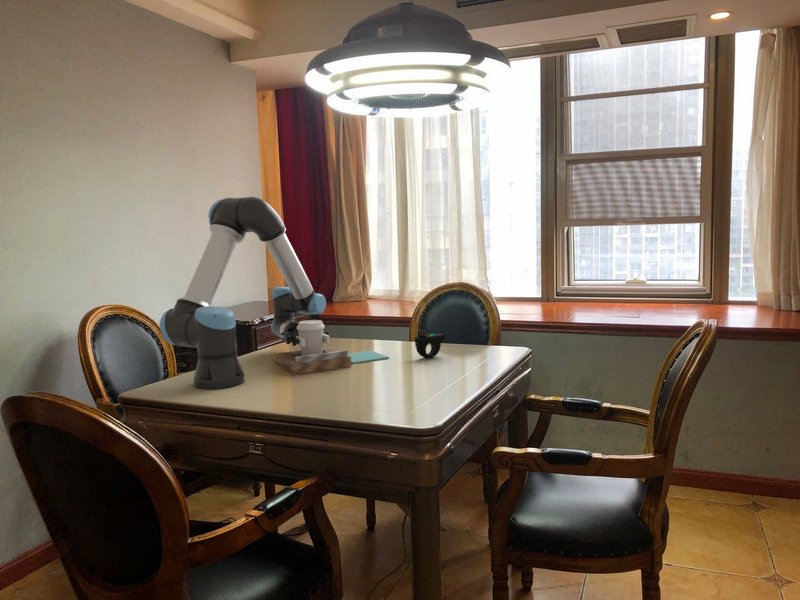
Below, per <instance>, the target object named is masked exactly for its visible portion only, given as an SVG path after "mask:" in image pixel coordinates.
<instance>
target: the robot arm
mask: <svg viewBox="0 0 800 600" xmlns="http://www.w3.org/2000/svg"><path fill="white" fill-rule="evenodd" d="M207 215H208V219H209V220H208V224H209V225H210V226H209V231H210V233H211V235H210V237H209V239H208V242H207V244H206V246H205V249H204V250H203V253H202V255H201V257H200V259H199V262H198V265H197V267H196V269H195V270H194V271H195V272H194V274H193V276H192V278H191V280H190V282H189V285H188V288H187V290H186V291H185V294H184V296H183V297H180V298H178V299H177V300H176V302H175V305H174V306H173V308H169V309H168V310H166V311H165V312H164V313H163V314H162V316H161V317H160V320H159V330H160V333H161V336H162V338H163V339H164V340H165V341H166V342H167V343H168V344H171V345H173V346H177V347H187V348H195V349H197V359H198V360H197V363H196V368H195V372H194V375H193V387H195V388H197V389H202V390H217V389H225V388H231V387H235V386H239V385H241V384H243V383H244V382H245V372H244V370H243V367H242V365H241V363H240V360H239V358H238V345H237V344H238V343H237V342H238V341H237V324H236V323H237V322H236V319H235V313H234V311H233V310H231V309H230V308H228V307H224V306H215V305H214V306H213V305H212V302H213V300H214V298H215V295H216V293H217V291H218V288H219V286H220V283H221V281H222V279H223V277H224V274H225V273H226V269H227V266H228V264H229V262H230V260H231V258H232V255H233V253H234V250H235V248H236V246H237V245H238V244H240V243H241V244H242V242H243V241H244V238H245V236H246V234H247V233H254V234H255V235H256V236H257V237H258V238H259V241H260V242H261V243H264V244H265V245H266V247H267V249H268V251H269V253H270V255H271V257H272V259H273V261H274V262H275V264H276V265H277V268H278V270H279V272H280V274H281V276H282V277H283V279H284V281H285V282H286V285H287V286H277V287H274V288H273V289H272V305H273V306H272V307H273V308H272V309H273V320H272V322H271V326H270V327H271V331H272V333H273V334H274V335H275V336H276V337H278V338H280V340H281V341H284V343H285V344H287V345H290V344H291V343H292V347H295V346H297V345H298V346H302V347H305V339H304V338H302V337H299V333H298V330H297V326H298V324H299V322H298V321H295V314H304V315H305V314H306V315H321V314H322V313H323V312H324V311H325V309H326V306H327V300H326V297H325V296H324V295H323V294H321V293H319V292H317V293H316V292H315V289H314V288H313V286H312V284H311V281H310V279H309V278H308V276H307V274H306V272H305V269H304V268H303V265H302V264H301V261H300V260H299V258H298V255H297V254H296V252H295V250H294V248H293V246H292V244H291V242H290V241H289V239H288V236H287V234H286V230H287V228H286V226H285V223H284V222H283V220H282V218H281V216H280V215H279V214H278V212H277V211H276V210H275V209H274V208H273V206H272V205H270V204H269V203H268V202H266V201H265V200H264V199H262V198H259V197H256V196H247V197H226V198H221V199H219V200H216V201H215V202H214V203H213V204H212V205H211V206H210V209H209V212H208V214H207ZM329 334H330V333H329V331H325V330H323V344H327V345H329V344H331V343H330V335H329Z"/></svg>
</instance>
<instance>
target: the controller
mask: <svg viewBox="0 0 800 600" xmlns="http://www.w3.org/2000/svg"><path fill="white" fill-rule="evenodd" d="M445 340H447V337H446V334H444V333H431V334H429V333H428V334H426V330H421V329H420V330H419V334H418V335H417V336H414V344H415V345H414V347H415V349H416V351H417V353H418V355H419V356H420V357H422V358H425V359H432V358H434V357H437V355H438V354H439V352H440V350H441V343H443V342H444V341H445ZM429 344H430V346H431V347H430V351H429V352H428V353H427V346H428V345H429Z"/></svg>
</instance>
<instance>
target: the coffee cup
mask: <svg viewBox="0 0 800 600" xmlns="http://www.w3.org/2000/svg"><path fill="white" fill-rule="evenodd" d="M298 323H299V324H298V326H297V330H298V333H299V337H302V338H304V339H305V347H302V346H300V345H299V346H300V350H301V355H302V356H305V355H312V354H320V353H322V351H323V347H324V346H323V344H324V342H323V331H324V329H325V328H326V326H325V324H324V323H323V320H319V319H309V320H301V321H299V322H298Z"/></svg>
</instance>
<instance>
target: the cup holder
mask: <svg viewBox="0 0 800 600" xmlns="http://www.w3.org/2000/svg"><path fill="white" fill-rule="evenodd" d="M348 354H349V353H348V350H347V349H342V350H336V349H334V348H332V347H329V346H323V351H322V353H320V354H312V355H305V356H302V355H301V349H300V350H294V351H286V352H279V353H274V364H275V365H277V366H279V367H280V368H282V369H283V368H284V369H283V370H285V369H286V370H285V371H287V372H289V373H290V372H291V374H292V373H293V374H292V375H294V374H298V375H301V374H300V373H305V374H309V373H308V372H311V373H316V372H315V371H318V372H322V371H323V370H325V371H330V370H329V369H331V370H336V369H335V368H338V369H343V368H342V367H345V368H351V367H352V363H351V356H349V355H348ZM350 366H351V367H350ZM323 372H324V371H323Z"/></svg>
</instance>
